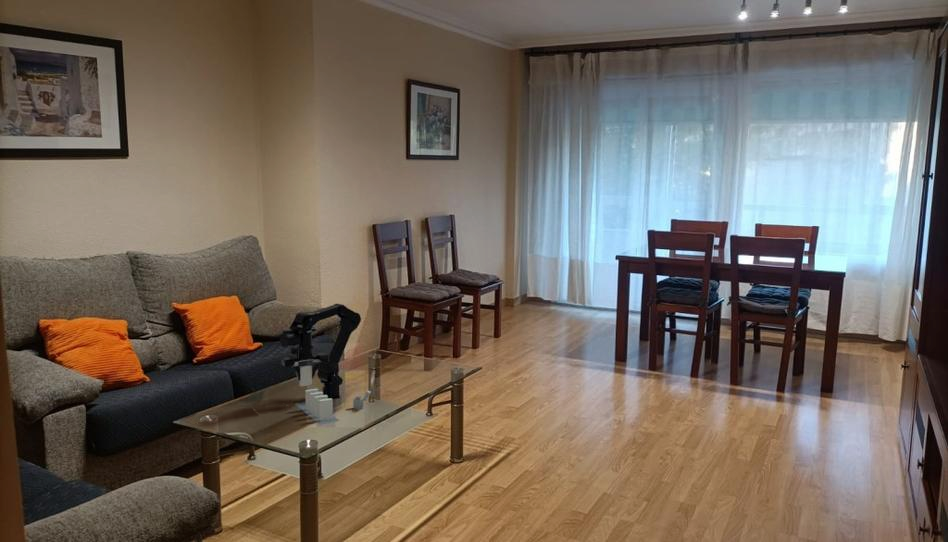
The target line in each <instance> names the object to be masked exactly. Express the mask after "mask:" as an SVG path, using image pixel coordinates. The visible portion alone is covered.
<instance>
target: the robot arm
mask: <svg viewBox="0 0 948 542" xmlns="http://www.w3.org/2000/svg"><path fill="white" fill-rule="evenodd" d="M334 316H337V317H338V318H340V321H339V327H340V329H339V332H338V335H337V337H336V339H335V341H334V344H333V346H332V348H331V351H330V353H329V355H328V354H327V353H325V352H317V353H315V355H313V349H314V346H313V340H312V339H313V338H312V337H313V333H312V332H316V331H317V329H316V328H315V327H314V326H315V325H316V324H317V323H319V322H320V321H323V320H325V319H328V318H332V317H334ZM361 321H362V317H361V315H360V313H358V312H355V311H353V310H352V309H350V308H348V307H347V306H346V305H344V304H342V303H334V304H333V305H330V306H327V307H324V308H323V307H322V308H320V309H316V310H314V311H300V312H298V313H296V315H295V317H294V319H293V321H292V322H291V325H290V327H289V329H283V330H282V333H281V334H280V337H279V343H280V345H281V346H282V347H283V348H289V351H288V353H289V356H287V357H285V356H284V357H282V358H281V360H280V365H282V366H283V367H285V368H290V367H291V368H292V369H293V371H294V372H295V375H296V377H297V380H298V382H299V381H300V378H301V376H300V366H301V365H299V363H307V362H310V365H311V366H312V380H313V379H314V377H315V374H316V372H317V377H318V380H320V384H323V386H322V388H321V390H322V391H321V392H323V395H327V396H328V399H329V398H331V399H333V400H335V399H336V400H337V399H341V396H340V386H341V385H343V381H344V379H343V378H342V377H341V376H340V375H339V372H340V366H339V363H340V361H341V358H342V356H343V354H344V351H345V349H346V347H347V344H348V342H349V339H350V337H351V334H352V333H353V332H354V331H356V329H357V328H358V327H359V325H360V323H361ZM294 346H296V348H295V347H294ZM292 356H293V357H294V358H293V357H292Z"/></svg>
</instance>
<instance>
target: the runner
mask: <svg viewBox="0 0 948 542" xmlns="http://www.w3.org/2000/svg"><path fill="white" fill-rule="evenodd" d="M294 405H295V406H297V407H298V408H299V409H300V410H301V411H303V413H305V414H306V415H307V416H309V417H310V418H311V419H313V421H315V422H316V423H317V424H319V425H324V424H331V423H335V422H340V420H339V419H338V418H336V416H334V415H333V419H330V420H325V421H320V420H319V417H315V416H314V414H311V413H310V410H306V401H302V402H297V403H294Z"/></svg>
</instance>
